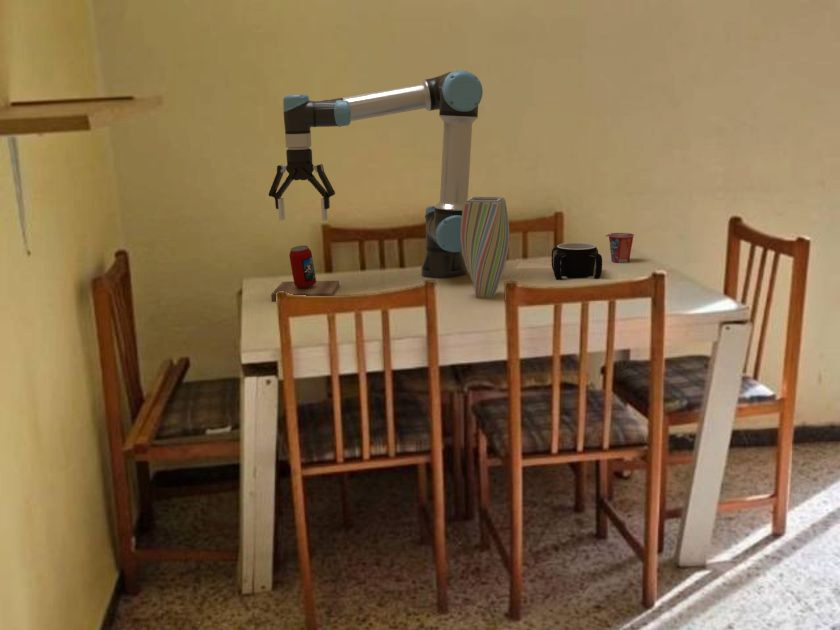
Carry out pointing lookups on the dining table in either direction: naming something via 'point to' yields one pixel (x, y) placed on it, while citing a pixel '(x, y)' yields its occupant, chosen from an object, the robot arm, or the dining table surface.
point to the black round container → (576, 261)
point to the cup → (620, 246)
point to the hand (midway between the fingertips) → (303, 220)
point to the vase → (485, 242)
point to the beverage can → (302, 266)
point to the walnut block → (308, 289)
